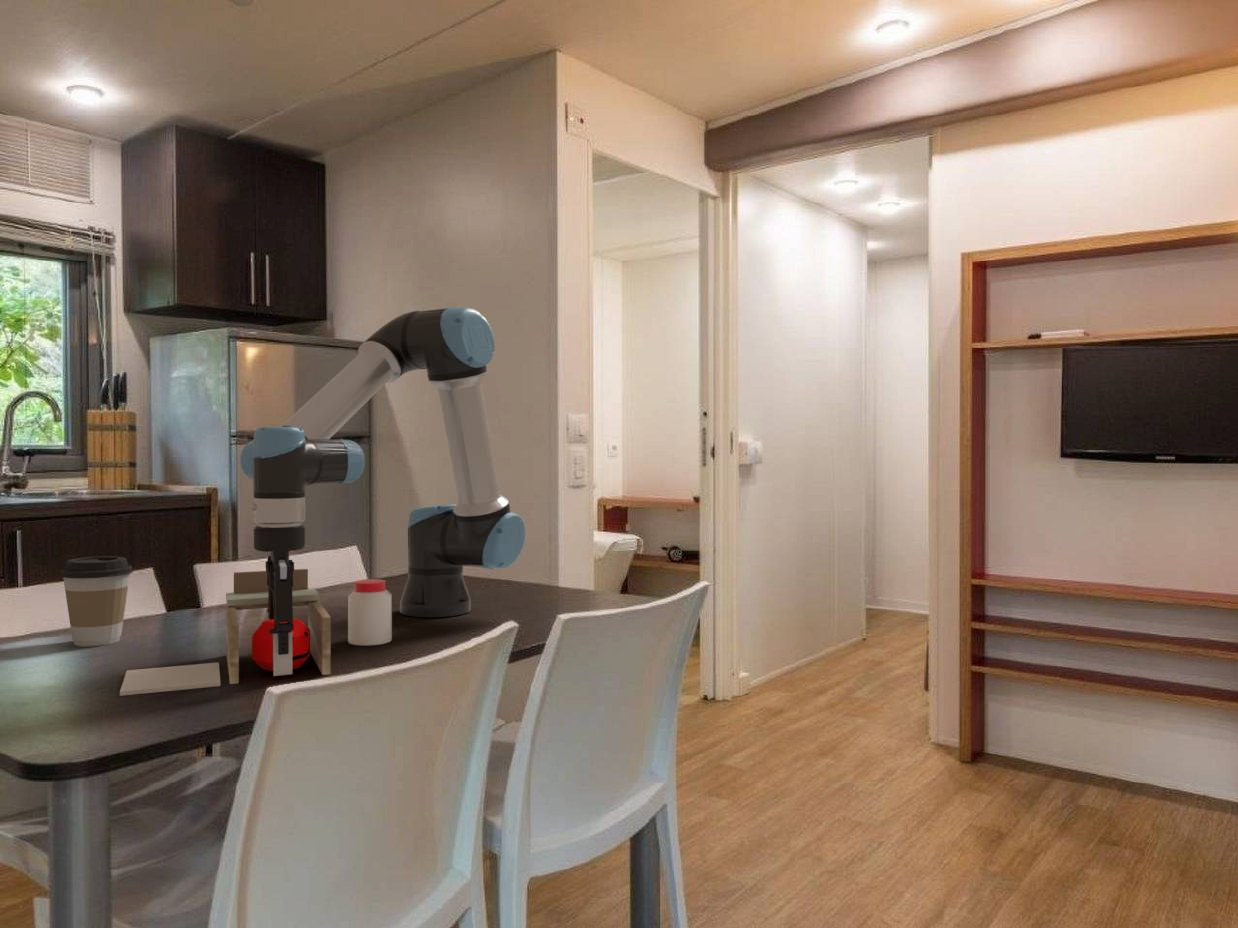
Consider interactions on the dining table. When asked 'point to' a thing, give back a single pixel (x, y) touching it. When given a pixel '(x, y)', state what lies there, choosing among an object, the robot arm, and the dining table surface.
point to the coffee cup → (96, 598)
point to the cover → (255, 588)
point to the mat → (170, 678)
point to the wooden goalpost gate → (316, 623)
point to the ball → (264, 644)
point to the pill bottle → (370, 613)
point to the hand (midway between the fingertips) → (280, 667)
